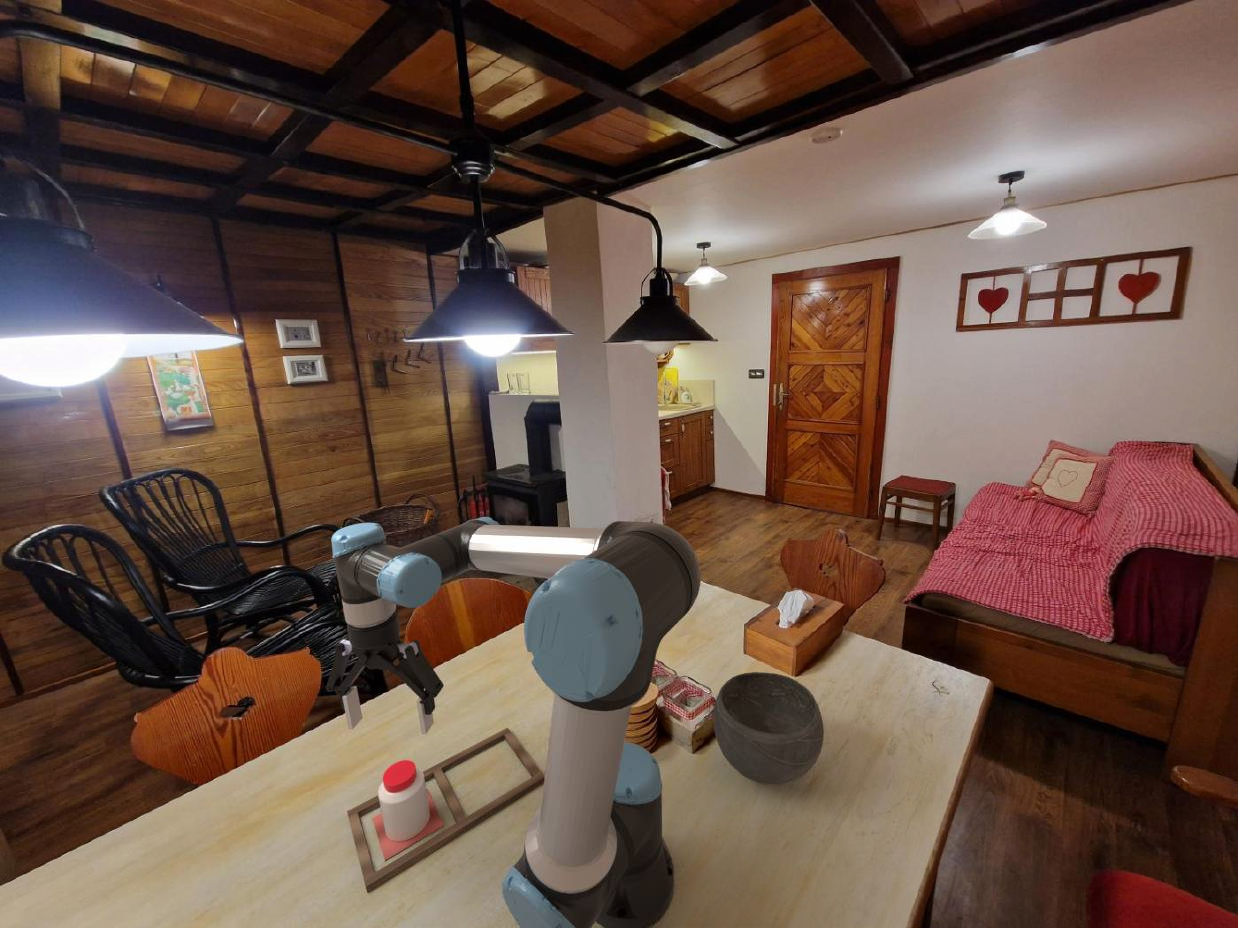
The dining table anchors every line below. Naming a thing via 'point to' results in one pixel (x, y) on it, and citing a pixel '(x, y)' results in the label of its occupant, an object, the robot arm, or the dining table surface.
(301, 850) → the dining table surface
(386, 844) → the divided wooden frame
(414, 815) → the pill bottle
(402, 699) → the dining table surface
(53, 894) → the dining table surface
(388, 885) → the dining table surface
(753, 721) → the bowl
